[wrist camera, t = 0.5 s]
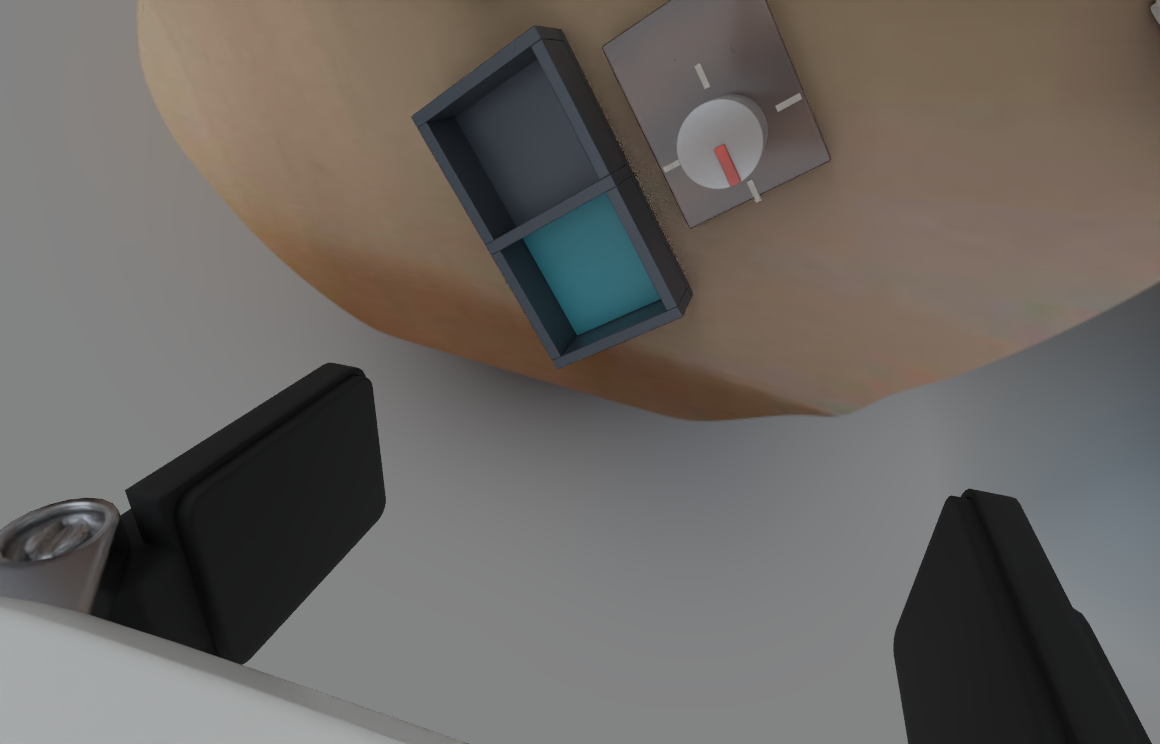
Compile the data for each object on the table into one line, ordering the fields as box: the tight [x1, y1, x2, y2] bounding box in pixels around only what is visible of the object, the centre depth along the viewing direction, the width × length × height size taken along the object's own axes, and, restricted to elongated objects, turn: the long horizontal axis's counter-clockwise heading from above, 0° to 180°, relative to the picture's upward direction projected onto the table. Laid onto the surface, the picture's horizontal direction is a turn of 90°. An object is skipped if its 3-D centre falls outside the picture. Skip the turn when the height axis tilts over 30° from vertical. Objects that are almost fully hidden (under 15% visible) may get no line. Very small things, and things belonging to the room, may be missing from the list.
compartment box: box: [411, 26, 693, 369], centre depth 43 cm, size 19×10×5 cm, turn 30°
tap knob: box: [677, 94, 768, 189], centre depth 34 cm, size 4×4×6 cm
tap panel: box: [602, 0, 831, 229], centre depth 38 cm, size 12×9×3 cm
